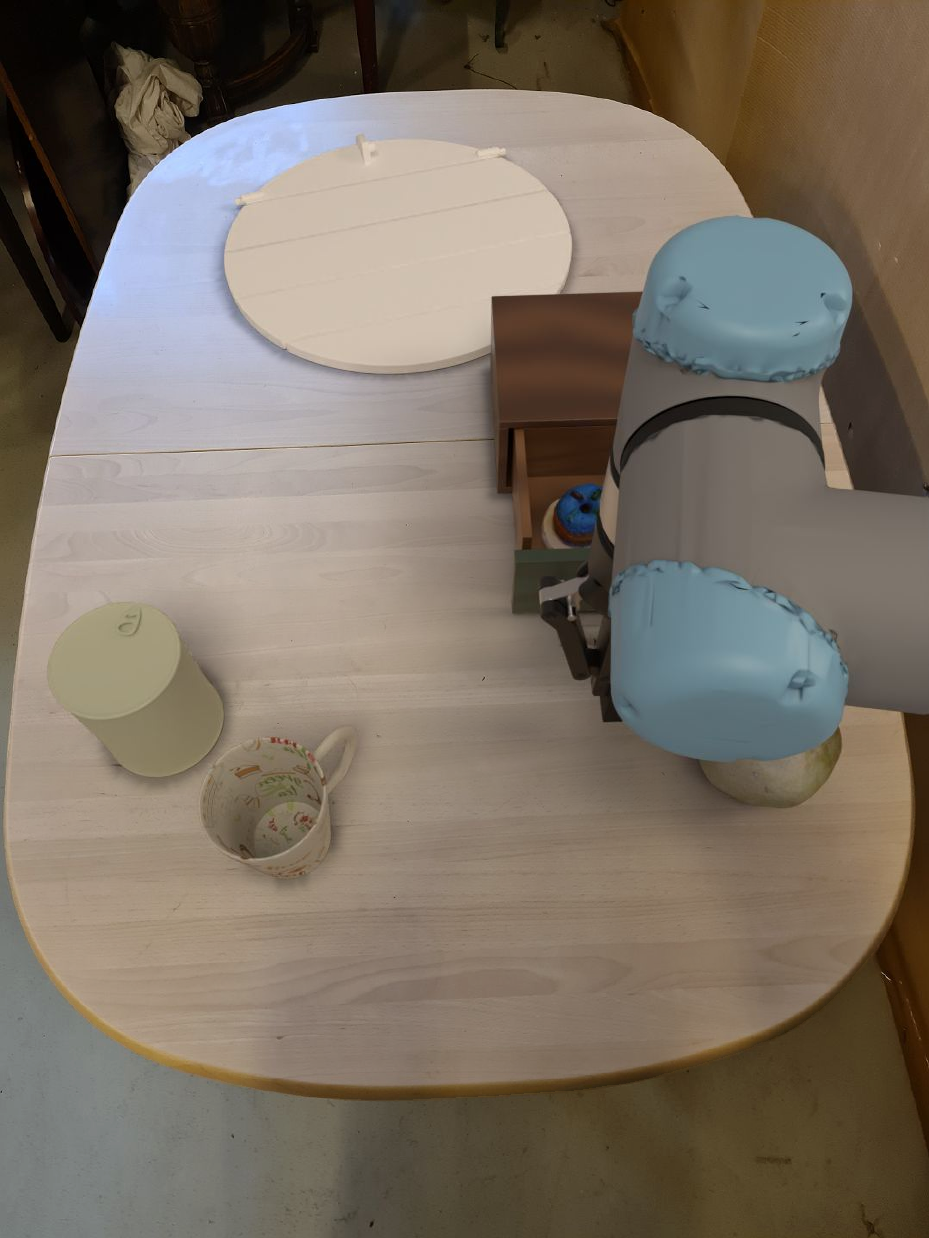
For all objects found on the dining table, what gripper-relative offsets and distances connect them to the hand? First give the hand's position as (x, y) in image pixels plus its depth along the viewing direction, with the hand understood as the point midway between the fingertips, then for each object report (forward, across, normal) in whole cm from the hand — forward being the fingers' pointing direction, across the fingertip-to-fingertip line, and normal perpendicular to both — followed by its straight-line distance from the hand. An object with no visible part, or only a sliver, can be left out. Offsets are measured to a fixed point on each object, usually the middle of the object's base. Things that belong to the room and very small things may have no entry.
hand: (610, 705), depth 64 cm
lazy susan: (+5, +17, -60) cm, 62 cm away
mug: (+5, +23, +6) cm, 24 cm away
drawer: (+4, 0, -15) cm, 15 cm away
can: (+5, +35, -2) cm, 35 cm away
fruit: (+5, -11, +3) cm, 12 cm away
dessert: (+3, 0, -18) cm, 18 cm away
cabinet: (+5, 0, -32) cm, 32 cm away
